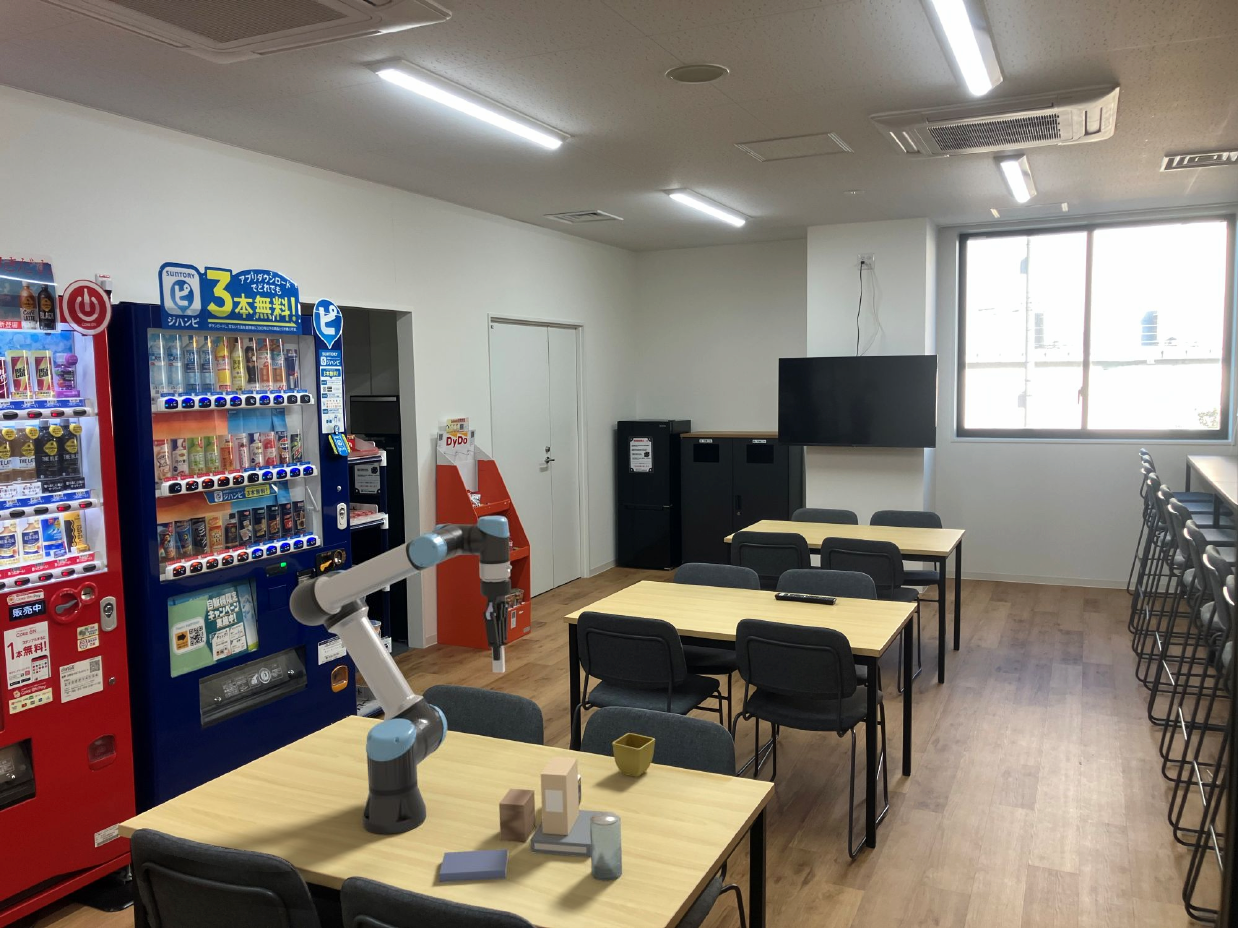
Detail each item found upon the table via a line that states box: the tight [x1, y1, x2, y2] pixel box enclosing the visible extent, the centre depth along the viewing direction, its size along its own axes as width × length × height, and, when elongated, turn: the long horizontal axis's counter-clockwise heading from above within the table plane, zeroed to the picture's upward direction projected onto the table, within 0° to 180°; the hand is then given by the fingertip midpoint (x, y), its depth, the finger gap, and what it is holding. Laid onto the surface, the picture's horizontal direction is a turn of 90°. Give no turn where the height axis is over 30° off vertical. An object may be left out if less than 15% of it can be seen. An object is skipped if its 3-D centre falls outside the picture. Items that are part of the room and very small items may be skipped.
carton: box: [540, 756, 580, 835], centre depth 214 cm, size 6×10×14 cm, turn 168°
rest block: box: [498, 788, 536, 844], centre depth 216 cm, size 6×8×9 cm
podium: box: [529, 809, 603, 858], centre depth 214 cm, size 14×16×3 cm
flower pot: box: [611, 732, 656, 778], centre depth 249 cm, size 9×9×9 cm
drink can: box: [590, 811, 623, 882], centre depth 197 cm, size 7×7×12 cm
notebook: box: [438, 848, 509, 883], centre depth 201 cm, size 14×9×2 cm, turn 94°
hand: (498, 671), depth 229 cm, fingers closed
